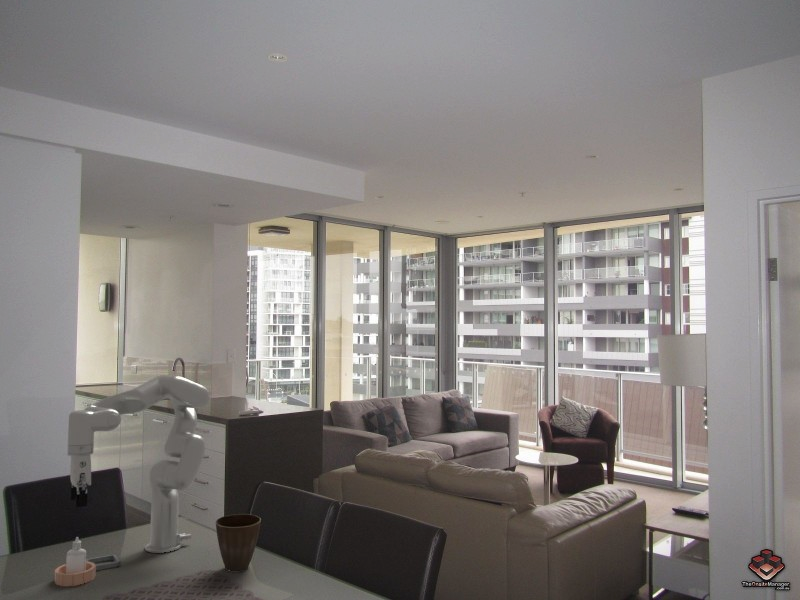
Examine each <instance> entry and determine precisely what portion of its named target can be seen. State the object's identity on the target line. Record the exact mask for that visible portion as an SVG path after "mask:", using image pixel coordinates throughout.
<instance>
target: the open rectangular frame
mask: <svg viewBox="0 0 800 600" xmlns="http://www.w3.org/2000/svg"><path fill="white" fill-rule="evenodd" d="M107 560H108V561H112V562H107V563H101V562H102V561H103V562H106V561H107ZM86 561H87V562H92V563H95V565H96V572H97V571H101V570H106V569H107V570H108V569H111V568H118V567H121V561H120V559H119V557H117V555H116V554H115V553H114V554H109V555H104V556H97V557H91V558H86ZM96 563H101V564H96ZM117 566H118V567H117Z"/></svg>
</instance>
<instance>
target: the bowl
mask: <svg viewBox="0 0 800 600" xmlns="http://www.w3.org/2000/svg"><path fill="white" fill-rule="evenodd" d="M96 565H97V564H96V563H92V562H87V561H86V571H83V572H79V573H69V574H66V563H65V564H62V565H60V566H58V567H57V568H56V569H54V584H55V585H56V586H59V585H60V586H59V587H76V586H81V585H84V583H85V584H88V583H90V582H92V581H93V580H94V579H95V578H96V573H97V571H96ZM80 584H81V585H80Z"/></svg>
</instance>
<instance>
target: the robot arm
mask: <svg viewBox="0 0 800 600" xmlns="http://www.w3.org/2000/svg"><path fill="white" fill-rule="evenodd" d="M210 398H211V396H210V392H209V390H208V388H206V386H204V385H203V384H202V385H201V384H199V383H196V382H195V381H192V380H190V379H189V378H188V379H187V378H185V377H183V376H179V375H171V374H169V375H168V374H167V375H166V374H164V375H163V374H162V375H158V376H155V377H154V378H151V379H149V380H148V381H146V382H144V383H142V384H140V385H138V386H136V387H134V388H132V389H130V390H129V389H128V390H126V391H123V392H121V393H117V394H114V395H110V396H108V397H105V398H102V399H100V400H98V401H96V402H94V403H91V404H90V405H89V406H87V407H86V408H84V409H83V410H73V411H71V412H70V413H69V414H68V430H67V431H68V432H67V456H70V467H69V469H70V470H69V471H70V473H69V474H70V479H69V480H70V483H71V488H70V500H71V501H75V507H76V508H81V507H82V508H84V507H87V505H88V486H91V485H92V458H91V457H92V456H91V455H93V454H94V445H95V444H94V442H95V441H94V440H95V432H111V431H113V430H115V429H117V428H118V427H119V425H120V424H121V421H122V417H121V415H128V414H129V415H130V414H135V413H140V412H144V411H145V410H147V409H149V408H151V407H152V406H154V405H157V404H158V403H160V402H161V401H163V400H166V399H169V400H170V403H171V405H172V408H173V410H174V419H173V422H172V425H171V428H170V431H169V432H168V435H167V438H166V441H165V444H164V446H163V447H164V451H163V452H164V453H165V454H166V455H167V456H168V457H170V458H173V459H179V461H177V460H176V461H175V460H174V461H173V460H169V459H163V460H162V459H161V460H159V461H157V462H155V463H154V464H153V465H152V466H151V468H150V471H149V476H148V477H149V484H150V489H151V490H150V492H151V501H150V502H151V503H150V504H151V507H150V527H149V529H150V530H149V531H150V532H149V533H150V534H149V535H150V536H149V537H150V538H149V542H148V543H147V544H145V545H144V547H145V548H144V549H145V551H146V552H149V553H153V554H163V553H164V552H166V553H170V551H171V552H174V550H175V551H177V550H179V549H180V548H181V547H182V545H183V543H182V542H183V541H185V540H191V539H192V538H191V537H192V534H191V533H185V532H183V533H180V532H179V531H178V530H179V509H180V508H179V506H180V505H179V504H180V497H179V496H180V495H179V491H185V490H187V489H190V487H191V486H192V485H193V484H194V482H195V480H196V478H197V476H198V471H199V469H200V466H201V464H202V461H203V458H204V455H205V453H206V452H205V451H206V443H205V439H204V438H203V437H202V436H201V435H200V434H195V431H196V428H197V425H198V416H197V415H198V414H197V412H196V409H203V408H205V407H206V406H207V405H208V404H209V402H210ZM87 485H88V486H87Z"/></svg>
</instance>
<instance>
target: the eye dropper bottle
mask: <svg viewBox="0 0 800 600" xmlns="http://www.w3.org/2000/svg"><path fill="white" fill-rule="evenodd" d="M65 557H66V559H65V561H66V562H65V564H66V574H69V573H79V572H83V571H86V559H87V550H86V549H84V548H82V541H81V540H80V539H79V536H76V537H75V541H72V549H69V550H68V551H67V553H66V556H65Z"/></svg>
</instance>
